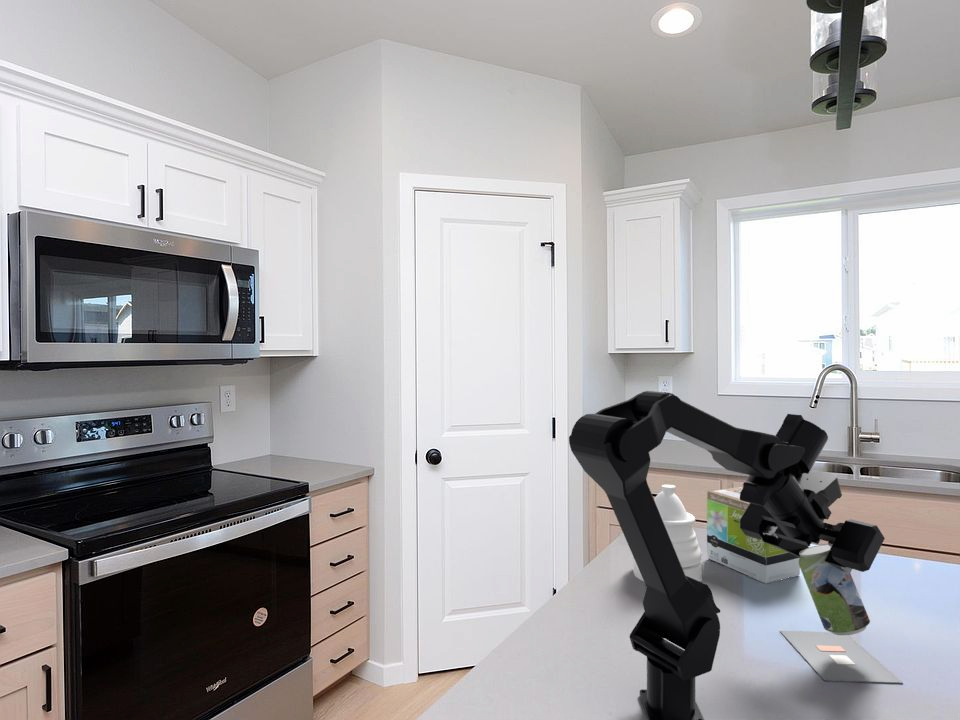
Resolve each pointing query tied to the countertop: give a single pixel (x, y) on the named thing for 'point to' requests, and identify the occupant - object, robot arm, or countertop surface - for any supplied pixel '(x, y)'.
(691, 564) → the honey pot
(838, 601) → the beverage can
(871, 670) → the tile
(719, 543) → the tea box
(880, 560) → the countertop surface
